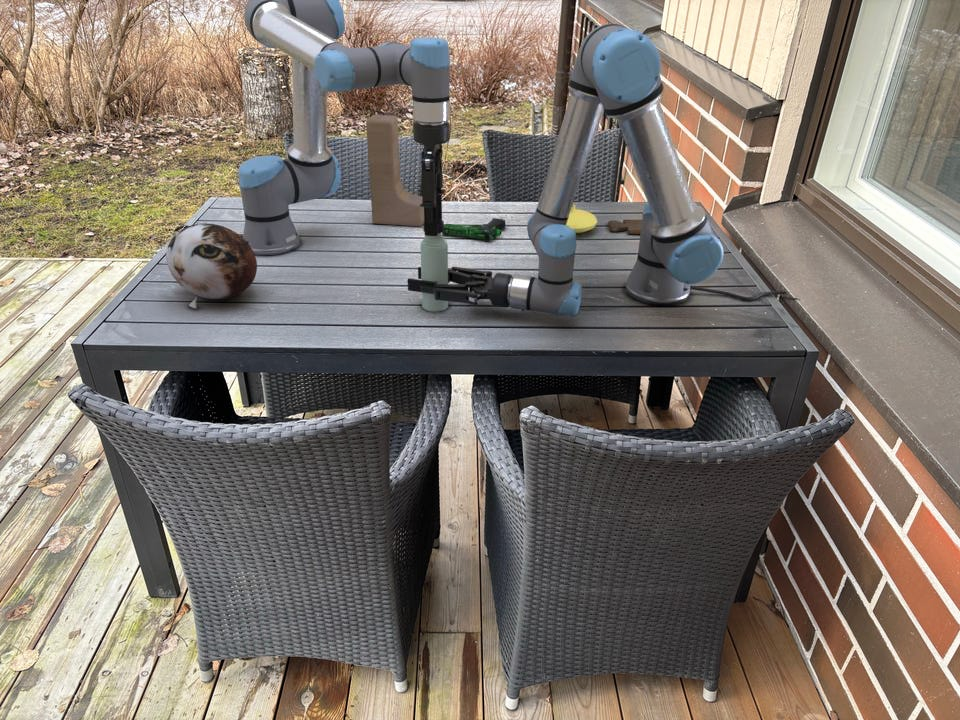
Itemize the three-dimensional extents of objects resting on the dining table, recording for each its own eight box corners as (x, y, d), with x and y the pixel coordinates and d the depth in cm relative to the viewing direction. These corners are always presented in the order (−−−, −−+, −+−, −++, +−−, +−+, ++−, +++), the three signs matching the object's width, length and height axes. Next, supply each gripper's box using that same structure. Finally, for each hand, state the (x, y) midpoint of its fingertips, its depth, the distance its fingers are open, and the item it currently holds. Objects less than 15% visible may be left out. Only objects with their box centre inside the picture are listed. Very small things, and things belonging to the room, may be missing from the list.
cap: (428, 235, 154) (428, 226, 153) (420, 228, 158) (420, 220, 157) (447, 232, 156) (447, 223, 155) (438, 225, 160) (438, 217, 159)
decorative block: (421, 227, 210) (418, 122, 195) (372, 224, 212) (365, 119, 197) (426, 218, 217) (424, 116, 201) (378, 215, 218) (372, 114, 203)
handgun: (511, 219, 210) (493, 234, 198) (511, 228, 211) (492, 244, 199) (461, 212, 215) (440, 226, 203) (461, 221, 217) (440, 236, 204)
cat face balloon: (130, 285, 161) (164, 203, 163) (192, 308, 177) (221, 233, 178) (195, 307, 151) (229, 220, 152) (254, 330, 166) (285, 250, 168)
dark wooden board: (699, 237, 207) (691, 225, 216) (700, 231, 206) (692, 220, 215) (610, 234, 207) (606, 222, 216) (611, 228, 207) (607, 217, 215)
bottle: (446, 312, 164) (445, 230, 154) (420, 311, 164) (417, 229, 154) (449, 300, 169) (448, 220, 159) (424, 299, 169) (421, 219, 159)
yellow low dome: (559, 216, 220) (561, 193, 217) (605, 227, 212) (608, 204, 209) (532, 230, 209) (533, 207, 206) (580, 242, 201) (582, 218, 198)
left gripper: (420, 110, 154) (423, 213, 166) (404, 132, 137) (409, 245, 149) (455, 111, 153) (455, 215, 165) (443, 133, 136) (444, 246, 148)
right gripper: (500, 325, 153) (399, 311, 158) (520, 289, 169) (427, 277, 174) (501, 293, 149) (397, 280, 155) (521, 259, 165) (426, 248, 170)
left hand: (433, 229), depth 157 cm, fingers open, 7 cm apart
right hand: (413, 278), depth 164 cm, fingers closed on bottle, 6 cm apart
